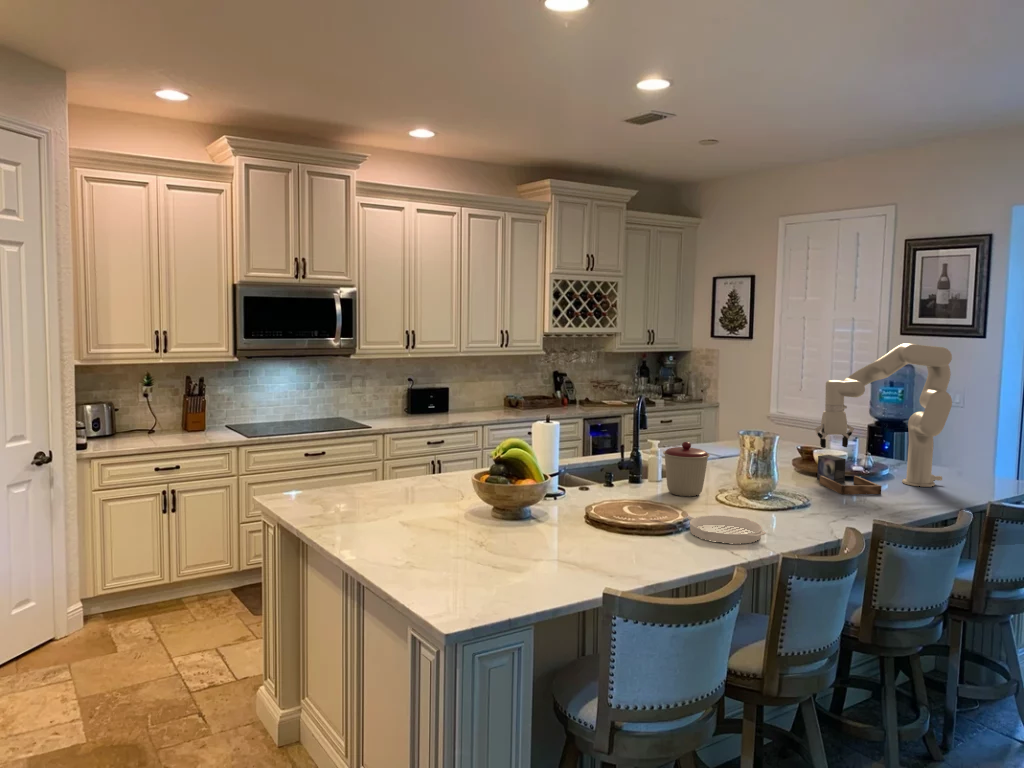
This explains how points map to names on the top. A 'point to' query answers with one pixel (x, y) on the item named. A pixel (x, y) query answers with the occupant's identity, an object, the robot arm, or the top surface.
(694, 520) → the pan
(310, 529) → the top surface
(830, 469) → the small box
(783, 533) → the top surface
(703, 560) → the top surface
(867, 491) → the wooden u-shaped frame
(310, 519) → the top surface
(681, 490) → the canister
